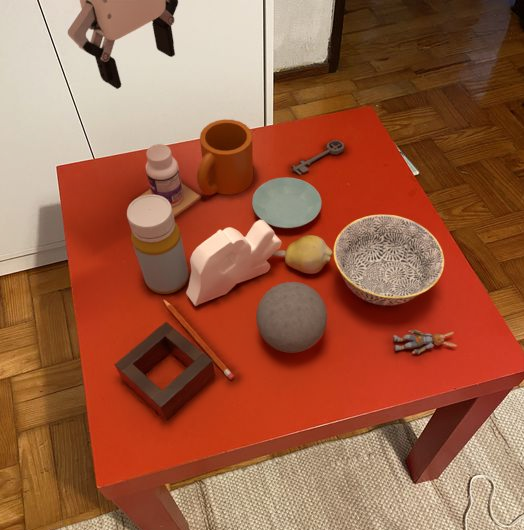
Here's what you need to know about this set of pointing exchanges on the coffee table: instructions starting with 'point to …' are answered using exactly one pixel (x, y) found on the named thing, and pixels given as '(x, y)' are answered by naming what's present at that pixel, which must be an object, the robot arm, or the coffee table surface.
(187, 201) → the coaster
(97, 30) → the robot arm
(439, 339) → the figurine
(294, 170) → the key
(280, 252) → the fruit
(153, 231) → the bottle
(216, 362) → the pencil
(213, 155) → the mug
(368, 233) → the bowl
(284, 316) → the decorative ball
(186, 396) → the holder
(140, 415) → the coffee table surface
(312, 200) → the saucer
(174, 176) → the pill bottle
